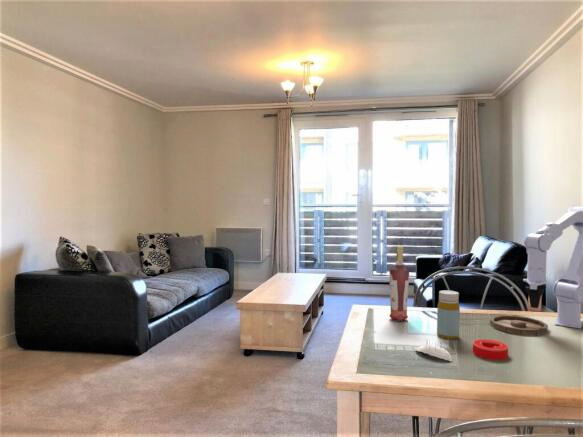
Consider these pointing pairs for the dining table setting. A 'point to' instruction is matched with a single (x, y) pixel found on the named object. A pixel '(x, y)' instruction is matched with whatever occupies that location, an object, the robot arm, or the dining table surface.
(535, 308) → the bead
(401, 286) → the liquor
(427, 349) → the pincushion
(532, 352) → the dining table surface
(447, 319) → the bottle
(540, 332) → the groove tray
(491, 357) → the decorative ornament
